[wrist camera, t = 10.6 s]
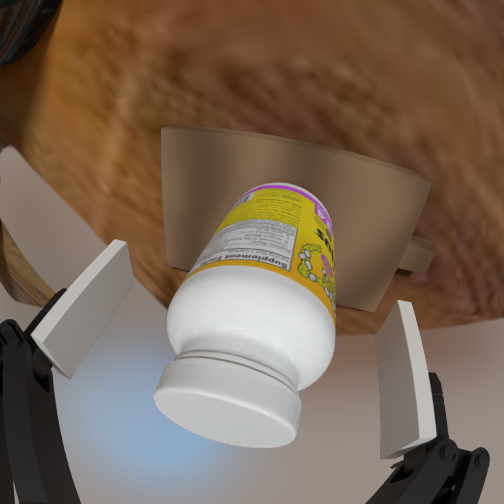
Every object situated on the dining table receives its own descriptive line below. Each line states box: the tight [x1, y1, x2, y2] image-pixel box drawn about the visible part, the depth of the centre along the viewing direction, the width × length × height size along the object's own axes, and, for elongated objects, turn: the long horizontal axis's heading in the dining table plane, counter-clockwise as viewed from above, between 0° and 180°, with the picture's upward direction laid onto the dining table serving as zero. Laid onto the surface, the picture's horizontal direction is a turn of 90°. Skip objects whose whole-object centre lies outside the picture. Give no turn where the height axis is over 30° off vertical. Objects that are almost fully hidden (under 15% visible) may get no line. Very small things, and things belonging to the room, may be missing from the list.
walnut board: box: [161, 124, 436, 312], centre depth 18 cm, size 19×11×2 cm, turn 83°
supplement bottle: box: [154, 183, 335, 448], centre depth 13 cm, size 7×7×13 cm
